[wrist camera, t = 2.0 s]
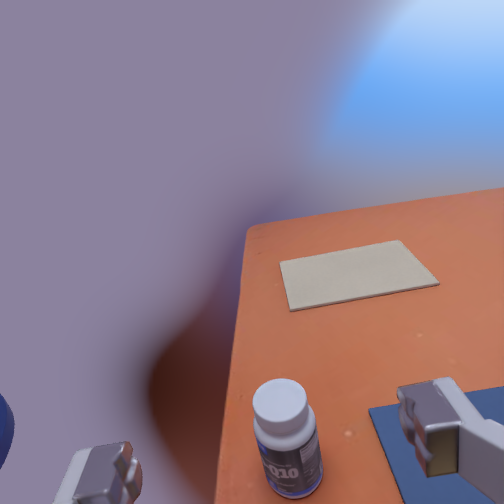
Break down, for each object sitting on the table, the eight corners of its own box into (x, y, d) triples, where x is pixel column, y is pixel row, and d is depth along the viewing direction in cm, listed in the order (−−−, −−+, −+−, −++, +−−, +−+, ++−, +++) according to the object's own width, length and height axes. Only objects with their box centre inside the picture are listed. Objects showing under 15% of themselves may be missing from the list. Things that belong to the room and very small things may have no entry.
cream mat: (290, 311, 51) (289, 309, 50) (279, 263, 63) (279, 261, 63) (439, 284, 50) (440, 282, 50) (398, 241, 62) (398, 239, 62)
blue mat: (436, 585, 23) (436, 581, 23) (368, 411, 35) (368, 408, 34) (709, 546, 22) (712, 542, 22) (545, 382, 34) (546, 378, 34)
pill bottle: (255, 481, 31) (233, 409, 27) (285, 436, 34) (269, 366, 30) (306, 513, 28) (289, 437, 24) (333, 460, 31) (322, 386, 27)
